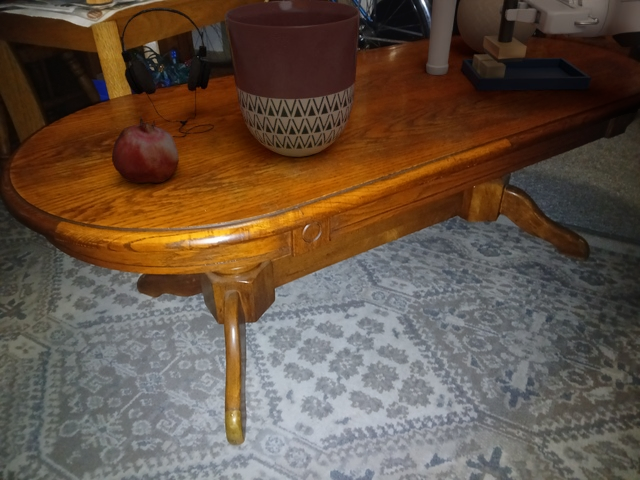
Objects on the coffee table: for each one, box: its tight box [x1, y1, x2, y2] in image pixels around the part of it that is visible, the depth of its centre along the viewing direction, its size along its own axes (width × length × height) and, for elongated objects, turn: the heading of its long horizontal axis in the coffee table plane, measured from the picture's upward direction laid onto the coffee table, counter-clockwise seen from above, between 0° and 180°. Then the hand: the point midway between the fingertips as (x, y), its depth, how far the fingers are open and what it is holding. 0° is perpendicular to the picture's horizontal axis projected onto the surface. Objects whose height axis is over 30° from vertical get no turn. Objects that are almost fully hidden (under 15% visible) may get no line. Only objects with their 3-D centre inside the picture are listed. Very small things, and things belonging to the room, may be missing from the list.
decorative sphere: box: [456, 0, 538, 54], centre depth 128 cm, size 20×20×20 cm
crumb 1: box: [472, 53, 495, 75], centre depth 116 cm, size 4×4×4 cm
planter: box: [224, 0, 361, 158], centre depth 80 cm, size 20×20×21 cm
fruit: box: [111, 116, 180, 184], centre depth 75 cm, size 9×10×10 cm
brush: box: [483, 0, 528, 63], centre depth 95 cm, size 5×9×13 cm, turn 3°
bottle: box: [425, 0, 457, 76], centre depth 114 cm, size 5×5×25 cm
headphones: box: [119, 6, 215, 138], centre depth 90 cm, size 15×11×20 cm
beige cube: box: [480, 61, 506, 78], centre depth 112 cm, size 4×4×4 cm
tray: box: [460, 57, 592, 92], centre depth 115 cm, size 24×16×2 cm, turn 90°
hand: (503, 12), depth 94 cm, fingers closed on brush, 2 cm apart
